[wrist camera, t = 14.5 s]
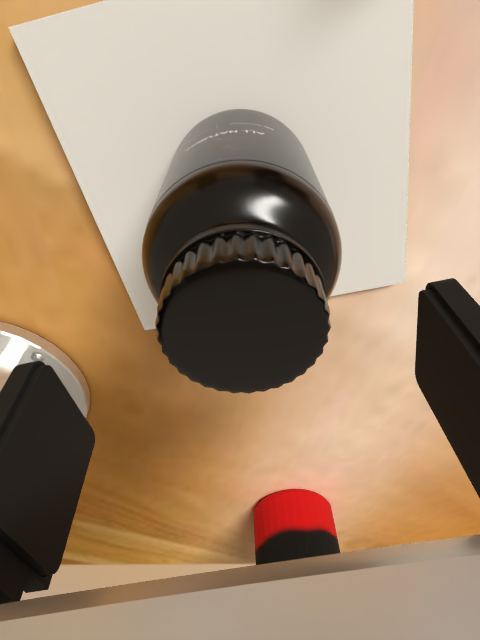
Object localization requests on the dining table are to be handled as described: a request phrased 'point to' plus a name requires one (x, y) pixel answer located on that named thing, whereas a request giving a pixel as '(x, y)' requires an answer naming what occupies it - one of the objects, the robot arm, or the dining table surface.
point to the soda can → (293, 527)
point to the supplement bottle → (241, 255)
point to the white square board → (232, 93)
